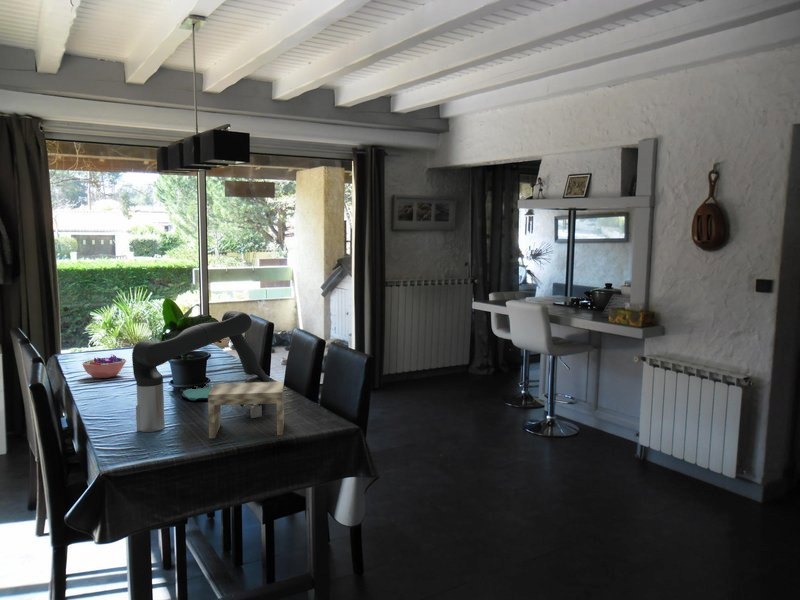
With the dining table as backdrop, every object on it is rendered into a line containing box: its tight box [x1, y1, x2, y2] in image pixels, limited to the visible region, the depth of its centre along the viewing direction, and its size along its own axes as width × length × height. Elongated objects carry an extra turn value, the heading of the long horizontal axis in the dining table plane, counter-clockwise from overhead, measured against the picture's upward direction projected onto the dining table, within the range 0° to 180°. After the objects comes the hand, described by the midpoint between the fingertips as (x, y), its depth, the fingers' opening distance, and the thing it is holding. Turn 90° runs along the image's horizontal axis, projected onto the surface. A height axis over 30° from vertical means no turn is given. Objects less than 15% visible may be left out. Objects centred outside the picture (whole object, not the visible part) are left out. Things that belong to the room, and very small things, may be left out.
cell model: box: [81, 354, 127, 379], centre depth 310 cm, size 17×20×11 cm
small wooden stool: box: [207, 381, 285, 439], centre depth 229 cm, size 26×16×16 cm, turn 99°
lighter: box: [244, 404, 263, 419], centre depth 244 cm, size 7×2×8 cm, turn 127°
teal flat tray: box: [180, 383, 213, 401], centre depth 281 cm, size 20×30×2 cm, turn 31°
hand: (250, 404), depth 242 cm, fingers closed on lighter, 6 cm apart
